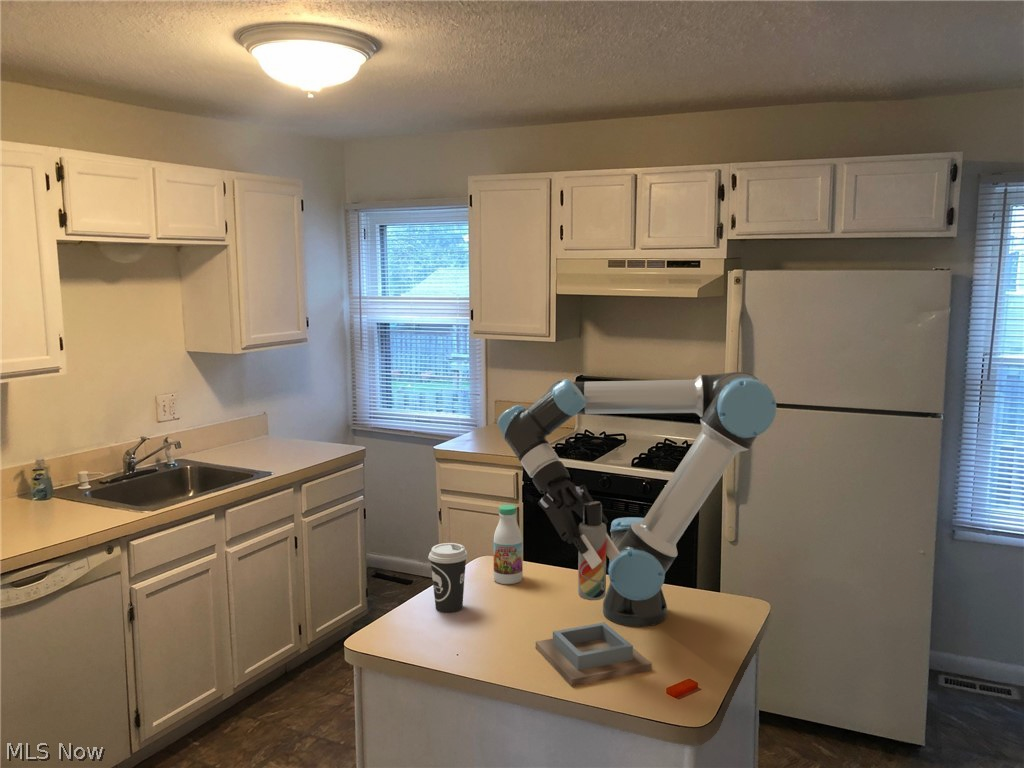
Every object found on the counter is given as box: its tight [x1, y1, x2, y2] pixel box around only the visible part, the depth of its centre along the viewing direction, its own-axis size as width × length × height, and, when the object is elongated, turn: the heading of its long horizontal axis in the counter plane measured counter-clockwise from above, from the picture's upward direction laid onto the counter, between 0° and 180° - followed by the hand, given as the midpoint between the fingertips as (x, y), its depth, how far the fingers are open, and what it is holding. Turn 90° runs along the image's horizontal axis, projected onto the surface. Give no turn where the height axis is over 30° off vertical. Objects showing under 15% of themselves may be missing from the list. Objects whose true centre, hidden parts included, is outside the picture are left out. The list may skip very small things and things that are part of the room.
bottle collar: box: [552, 622, 634, 671], centre depth 168 cm, size 12×12×3 cm
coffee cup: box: [427, 542, 469, 614], centre depth 194 cm, size 10×10×15 cm
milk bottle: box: [493, 504, 524, 585], centre depth 212 cm, size 8×8×20 cm
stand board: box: [535, 638, 653, 688], centre depth 168 cm, size 18×18×2 cm
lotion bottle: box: [577, 500, 607, 601], centre depth 165 cm, size 6×6×20 cm
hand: (606, 561), depth 163 cm, fingers closed on lotion bottle, 5 cm apart
